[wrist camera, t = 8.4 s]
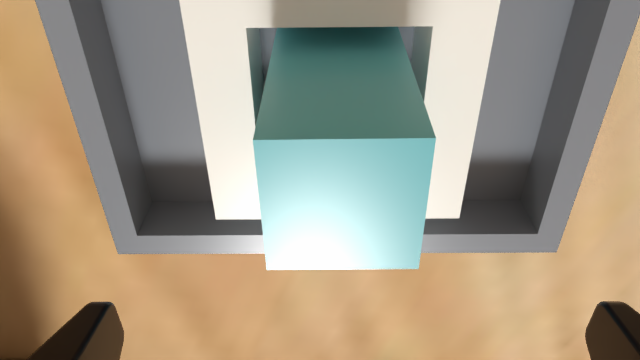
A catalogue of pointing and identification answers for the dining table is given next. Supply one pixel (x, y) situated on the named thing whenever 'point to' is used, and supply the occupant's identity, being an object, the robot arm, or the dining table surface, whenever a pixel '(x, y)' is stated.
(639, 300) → the dining table surface
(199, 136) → the walled box
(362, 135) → the plug
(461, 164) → the frame
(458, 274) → the dining table surface
